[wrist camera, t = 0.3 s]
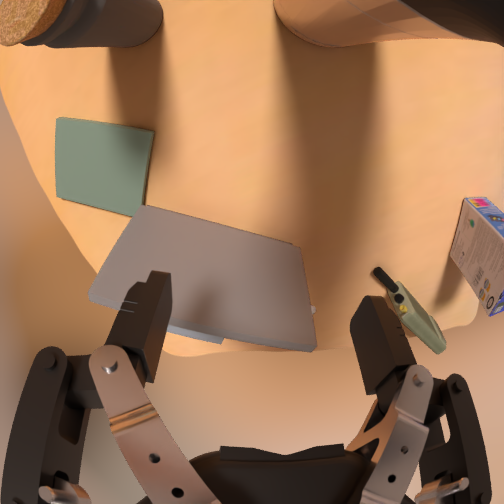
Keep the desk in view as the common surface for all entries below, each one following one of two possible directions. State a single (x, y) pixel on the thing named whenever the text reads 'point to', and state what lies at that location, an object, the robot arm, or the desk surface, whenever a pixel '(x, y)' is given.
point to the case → (214, 278)
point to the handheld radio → (413, 313)
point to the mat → (102, 164)
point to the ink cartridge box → (481, 251)
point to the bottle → (79, 22)
